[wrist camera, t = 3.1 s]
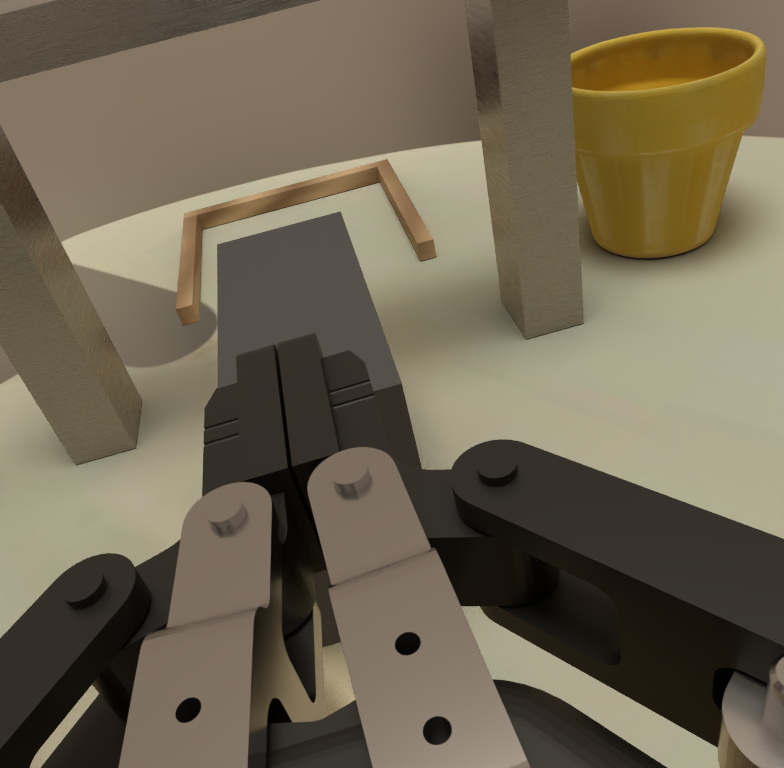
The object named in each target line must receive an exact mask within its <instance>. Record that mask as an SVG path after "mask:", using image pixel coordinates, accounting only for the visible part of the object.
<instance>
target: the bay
mask: <svg viewBox="0 0 784 768" xmlns="http://www.w3.org/2000/svg"><path fill="white" fill-rule="evenodd" d="M378 182H381V184H382V186H383V188H384V190H385V192H386V194H387V196H388V198H389V200H390V202H391V204H392V206H393V208H394V210H395V212H396V214H397V216H398V218H399V220H400V222H401V224H402V226H403V227H404V229H405V231H406V233H407V235H408V237H409V239H410V241H411V243H412V245H413V247H414V249H415V251H416V253H417V255H418V257H419V259H420V261H423V260H427V259H430V258H434V257H436V252H435V247H434V241H433V238H432V236H431V235H430V233H429V231H428V229H427V228H426V226H425V224H424V223H423V221H422V219H421V217H420V216H419V214H418V212H417V210H416V209H415V207H414V205H413V203H412V202H411V200H410V198H409V196H408V195H407V193H406V191H405V189H404V188H403V186H402V184H401V182H400V181H399V179H398V177H397V175H396V174H395V172H394V170H393V168H392V167H391V165H390V163H389V161H388V160H387V159H386V160H382V161H378V162H375V163H371V164H367V165H363V166H360V167H356V168H352V169H348V170H345V171H341V172H337V173H334V174H330V175H326V176H322V177H319V178H315V179H311V180H307V181H304V182H300V183H296V184H292V185H289V186H285V187H281V188H277V189H274V190H270V191H266V192H262V193H259V194H255V195H251V196H247V197H244V198H240V199H236V200H232V201H229V202H225V203H221V204H217V205H214V206H210V207H206V208H202V209H199V210H195V211H191V212H187V213H184V222H183V233H182V244H181V256H180V267H179V279H178V290H177V301H176V311H177V313H178V316H179V318H180V320H181V322H182V325H183V326H184V325H188V324H192V323H196V322H199V309H200V281H201V253H202V229H206V228H210V227H213V226H217V225H221V224H225V223H228V222H232V221H236V220H239V219H243V218H247V217H251V216H254V215H258V214H262V213H266V212H269V211H273V210H277V209H281V208H284V207H288V206H292V205H295V204H299V203H303V202H307V201H310V200H314V199H318V198H322V197H325V196H329V195H333V194H336V193H340V192H344V191H348V190H351V189H355V188H359V187H363V186H366V185H370V184H374V183H378Z"/></svg>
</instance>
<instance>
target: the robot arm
mask: <svg viewBox="0 0 784 768" xmlns="http://www.w3.org/2000/svg"><path fill="white" fill-rule="evenodd" d="M277 347H278V349H277ZM277 347H276V345H275V344H273V345H270V346H267V347H263V348H260V349H256V350H253V351H249V352H246V353H242V354H239V355H237V356H236V370H237V383H234V384H231V385H227V386H224V387H221V388H217V389H216V390H215V392H214V393H213V395H212V397H211V399H210V400H209V402H208V404H207V406H206V407H205V417H204V428H205V431H204V445H205V447H204V453H203V489H202V498H201V499H200V500H198V501H197V502H196V503H195V504H194V505H193V507H192V508H191V509H190V510H189V512H188V513H187V515H186V517H185V520H184V523H183V527H182V534H181V539H180V540H179V541H178V542H176V543H175V544H174V545H173V546H171V547H170V548H168V549H166V550H165V551H163V552H161V553H159V554H158V555H156V556H154V557H152V558H151V559H149V560H147V561H145V562H143V563H142V564H140V565H138V566H136V567H134V565H133V564H132V562H131V561H130V560H129V559H128V558H127V557H125V556H122V555H119V554H112V553H107V554H100V555H96V556H92V557H90V558H87V559H85V560H83V561H81V562H79V563H77V564H75V565H74V566H72V567H70V568H69V569H68V570H66V571H65V572H64V573H63V574H61V575H60V576H59V577H58V578H57V579H56V580H55V581H54V582H53V583H52V584H51V585H50V587H49V588H48V589H47V590H46V591H45V592H44V593H43V594H42V595H41V596H40V597H39V598H38V599H37V600H36V601H35V602H34V603H33V605H32V606H31V607H30V608H29V609H28V610H27V611H26V612H25V613H24V614H23V615H22V616H21V617H20V618H19V619H18V620H17V621H16V622H15V624H14V625H13V626H12V627H11V628H10V629H9V630H8V631H7V632H6V633H5V634H4V635H3V636H2V637H1V638H0V768H29V767H30V764H31V762H32V760H33V758H34V756H35V755H36V753H37V752H38V750H39V749H40V748H41V746H42V745H43V744H44V743H45V741H46V740H47V739H48V738H49V737H50V735H51V734H52V733H53V732H54V730H55V729H56V728H57V727H58V725H59V724H60V723H61V722H62V720H63V719H64V718H65V717H66V716H67V714H68V713H69V712H70V711H71V709H72V708H73V707H74V706H75V704H76V703H77V702H78V701H79V699H80V698H81V697H82V696H83V695H84V693H85V692H86V691H87V690H88V688H89V687H90V686H91V685H93V686H94V687H95V689H96V690H97V691H98V692H99V695H98V696H97V697H96V699H95V700H94V701H93V703H92V704H91V705H90V706H89V708H88V709H87V710H86V711H85V713H84V714H83V715H82V716H81V718H80V719H79V720H78V721H77V723H76V724H75V725H74V726H73V728H72V729H71V730H70V731H69V733H68V734H67V735H66V737H65V738H64V739H63V740H62V742H61V743H60V744H59V745H58V747H57V748H56V749H55V750H54V752H53V753H52V754H51V755H50V757H49V758H48V759H47V760H46V762H45V763H44V764H43V765H42V767H41V768H667V767H665V766H664V765H662V764H661V763H659V762H658V761H656V760H655V759H653V758H651V757H650V756H648V755H647V754H645V753H644V752H642V751H641V750H639V749H638V748H636V747H634V746H633V745H631V744H630V743H628V742H627V741H625V740H624V739H622V738H621V737H619V736H617V735H616V734H614V733H613V732H611V731H610V730H608V729H607V728H605V727H604V726H602V725H601V724H599V723H597V722H596V721H594V720H593V719H591V718H590V717H588V716H587V715H585V714H584V713H582V712H580V711H579V710H577V709H576V708H574V707H573V706H571V705H570V704H568V703H566V702H565V701H563V700H561V699H560V698H557V697H555V696H553V695H551V694H549V693H547V692H545V691H543V690H540V689H537V688H534V687H531V686H528V685H525V684H520V683H515V682H510V681H505V680H492V677H491V675H490V673H489V670H488V668H487V666H486V663H485V661H484V659H483V656H482V654H481V652H480V650H479V647H478V645H477V643H476V640H475V638H474V636H473V633H472V631H471V629H470V626H469V624H468V622H467V619H466V617H465V615H464V612H463V610H462V608H461V606H480V608H481V609H482V611H483V612H484V614H485V615H486V616H487V617H488V618H489V619H491V620H492V621H494V622H495V623H497V624H499V625H501V626H502V627H504V628H506V629H508V630H509V631H511V632H513V633H515V634H517V635H518V636H520V637H522V638H524V639H525V640H527V641H529V642H531V643H533V644H534V645H536V646H538V647H540V648H541V649H543V650H545V651H547V652H549V653H550V654H552V655H554V656H556V657H558V658H559V659H561V660H563V661H565V662H566V663H568V664H570V665H572V666H574V667H575V668H577V669H579V670H581V671H582V672H584V673H586V674H588V675H590V676H591V677H593V678H595V679H597V680H598V681H600V682H602V683H604V684H606V685H607V686H609V687H611V688H613V689H614V690H616V691H618V692H620V693H622V694H623V695H625V696H627V697H629V698H630V699H632V700H634V701H636V702H638V703H639V704H641V705H643V706H645V707H646V708H648V709H650V710H652V711H654V712H655V713H657V714H659V715H661V716H663V717H664V718H666V719H668V720H670V721H671V722H673V723H675V724H677V725H679V726H680V727H682V728H684V729H686V730H687V731H689V732H691V733H693V734H695V735H696V736H698V737H700V738H702V739H703V740H705V741H707V742H709V743H711V744H712V745H714V746H716V747H718V761H719V766H720V768H784V539H782V538H780V537H777V536H774V535H771V534H769V533H766V532H763V531H761V530H758V529H755V528H752V527H750V526H747V525H744V524H742V523H739V522H736V521H734V520H731V519H728V518H725V517H723V516H720V515H717V514H715V513H712V512H709V511H707V510H704V509H701V508H698V507H696V506H693V505H690V504H688V503H685V502H682V501H680V500H677V499H674V498H671V497H669V496H666V495H663V494H661V493H658V492H655V491H653V490H650V489H647V488H644V487H642V486H639V485H636V484H634V483H631V482H628V481H625V480H623V479H620V478H617V477H615V476H612V475H609V474H607V473H604V472H601V471H598V470H596V469H593V468H590V467H588V466H585V465H582V464H580V463H577V462H574V461H571V460H569V459H566V458H563V457H561V456H558V455H555V454H553V453H550V452H547V451H544V450H542V449H539V448H536V447H534V446H531V445H528V444H525V443H522V442H519V441H514V440H492V441H487V442H484V443H481V444H478V445H476V446H474V447H471V448H470V449H468V450H467V451H465V452H464V453H463V454H462V455H461V456H459V458H458V459H457V460H456V461H455V463H454V465H453V467H452V469H451V470H424V469H418V468H414V467H411V466H409V465H406V464H405V463H403V462H401V461H400V460H399V459H398V458H397V457H396V456H395V455H394V454H393V452H392V450H391V448H390V445H389V442H388V439H387V435H386V432H385V428H384V425H383V422H382V418H381V415H380V412H379V408H378V405H377V402H376V398H375V395H374V392H373V388H372V385H371V382H370V378H369V375H368V371H367V368H366V365H365V362H364V361H363V360H361V359H360V358H359V357H358V356H356V355H355V354H354V353H352V352H351V351H350V350H348V351H344V352H341V353H337V354H334V355H331V356H327V357H323V354H322V350H321V347H320V344H319V341H318V339H317V336H316V333H311V334H308V335H304V336H301V337H297V338H294V339H290V340H287V341H283V342H280V343H278V344H277ZM324 570H328V573H329V577H330V581H331V585H329V586H328V589H329V595H330V599H331V603H332V607H333V611H334V615H335V619H336V623H337V627H338V631H339V635H340V639H341V643H342V647H343V651H344V655H345V659H346V663H347V667H348V671H349V675H350V679H351V683H352V687H353V691H354V695H355V699H356V700H355V701H353V702H351V703H350V704H348V705H346V706H345V707H343V708H341V709H339V710H338V711H336V712H334V713H333V714H331V715H329V716H327V717H326V713H325V694H324V672H323V650H322V628H321V613H320V609H319V606H318V604H317V601H316V599H315V598H316V591H315V584H314V576H313V574H314V573H317V572H321V571H324Z"/></svg>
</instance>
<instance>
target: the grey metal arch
mask: <svg viewBox="0 0 784 768" xmlns="http://www.w3.org/2000/svg"><path fill="white" fill-rule="evenodd" d="M315 1H318V0H10V1H6V2H2V3H0V82H4V81H7V80H12V79H16V78H19V77H23V76H27V75H31V74H35V73H39V72H43V71H47V70H51V69H54V68H58V67H62V66H66V65H70V64H74V63H78V62H82V61H85V60H89V59H93V58H97V57H101V56H105V55H109V54H113V53H117V52H121V51H124V50H128V49H132V48H136V47H140V46H144V45H147V44H152V43H155V42H159V41H163V40H167V39H171V38H175V37H179V36H183V35H186V34H190V33H194V32H198V31H202V30H206V29H210V28H214V27H217V26H222V25H225V24H229V23H233V22H237V21H241V20H245V19H249V18H253V17H257V16H261V15H264V14H268V13H272V12H276V11H280V10H284V9H288V8H291V7H296V6H299V5H303V4H307V3H311V2H315ZM464 4H465V11H466V20H467V27H468V36H469V44H470V52H471V60H472V68H473V76H474V84H475V92H476V100H477V108H478V116H479V124H480V132H481V140H482V148H483V156H484V164H485V172H486V180H487V188H488V196H489V204H490V212H491V220H492V228H493V236H494V244H495V252H496V260H497V268H498V276H499V284H500V292H501V300H502V302H503V304H504V305H505V307H506V309H507V310H508V312H509V313H510V315H511V316H512V318H513V319H514V321H515V322H516V324H517V326H518V327H519V329H520V330H521V332H522V333H523V335H524V336H525V338H526V339H529V338H532V337H536V336H539V335H543V334H546V333H550V332H554V331H557V330H561V329H564V328H568V327H572V326H575V325H579V324H582V323H583V302H582V282H581V261H580V240H579V219H578V198H577V177H576V157H575V136H574V115H573V94H572V73H571V53H570V33H569V11H568V0H464ZM0 345H1V347H2V348H3V350H4V351H5V353H6V355H7V356H8V358H9V359H10V361H11V362H12V364H13V366H14V367H15V369H16V371H17V372H18V374H19V375H20V377H21V379H22V380H23V382H24V383H25V385H26V387H27V388H28V390H29V391H30V393H31V395H32V396H33V398H34V399H35V401H36V403H37V404H38V406H39V407H40V409H41V411H42V412H43V414H44V415H45V417H46V419H47V420H48V422H49V423H50V425H51V427H52V428H53V430H54V431H55V433H56V435H57V436H58V438H59V439H60V441H61V442H62V444H63V446H64V447H65V449H66V450H67V452H68V454H69V455H70V457H71V458H72V460H73V462H74V463H75V465H77V464H80V463H84V462H87V461H91V460H95V459H98V458H102V457H105V456H109V455H113V454H116V453H120V452H123V451H127V450H130V449H134V448H136V441H137V434H138V426H139V419H140V412H141V404H142V399H141V397H140V395H139V393H138V392H137V390H136V388H135V386H134V384H133V382H132V380H131V378H130V376H129V374H128V372H127V370H126V368H125V366H124V364H123V363H122V360H121V358H120V357H119V355H118V353H117V351H116V349H115V347H114V345H113V343H112V341H111V339H110V337H109V335H108V333H107V331H106V329H105V327H104V326H103V323H102V322H101V320H100V318H99V316H98V314H97V312H96V310H95V308H94V306H93V304H92V302H91V300H90V298H89V296H88V295H87V292H86V290H85V289H84V287H83V285H82V283H81V281H80V279H79V277H78V275H77V273H76V271H75V269H74V267H73V265H72V263H71V261H70V259H69V257H68V255H67V253H66V252H65V250H64V248H63V246H62V244H61V242H60V240H59V238H58V236H57V234H56V232H55V230H54V228H53V226H52V224H51V222H50V220H49V219H48V217H47V215H46V213H45V211H44V209H43V207H42V205H41V203H40V201H39V199H38V197H37V195H36V193H35V191H34V189H33V188H32V185H31V183H30V182H29V180H28V178H27V176H26V174H25V172H24V170H23V168H22V166H21V164H20V162H19V160H18V158H17V156H16V154H15V152H14V150H13V149H12V147H11V145H10V143H9V141H8V139H7V137H6V135H5V133H4V131H3V129H2V127H1V125H0Z"/></svg>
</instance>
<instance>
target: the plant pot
mask: <svg viewBox="0 0 784 768" xmlns="http://www.w3.org/2000/svg"><path fill="white" fill-rule="evenodd" d="M765 64H766V48H765V45H764V43H763V41H762V40H761V39H760V38H758V37H757V36H755V35H753V34H750V33H748V32H744V31H739V30H734V29H726V28H707V27H706V28H705V27H701V28H678V29H666V30H658V31H651V32H644V33H638V34H634V35H629V36H624V37H620V38H615V39H611V40H608V41H604V42H601V43H598V44H594V45H592V46H589V47H586V48H584V49H581V50H579V51H576V52H574V53H572V54H571V73H572V94H573V115H574V136H575V157H576V177H577V182H578V186H579V189H580V192H581V196H582V199H583V202H584V206H585V209H586V213H587V217H588V220H589V224H590V227H591V231H592V234H593V237H594V239H595V240H596V242H597V243H598V244H599V245H600V246H601V247H602V248H604V249H605V250H607V251H609V252H612V253H615V254H618V255H622V256H626V257H635V258H659V257H667V256H672V255H677V254H681V253H684V252H687V251H690V250H692V249H695V248H697V247H698V246H700V245H702V244H703V243H705V242H706V241H707V240H708V239H709V238H710V237H711V235H712V234H713V232H714V229H715V226H716V222H717V219H718V215H719V212H720V208H721V205H722V201H723V198H724V194H725V191H726V187H727V184H728V181H729V177H730V174H731V171H732V167H733V164H734V161H735V157H736V154H737V151H738V147H739V144H740V141H741V138H742V134H743V132H744V131H745V130H746V129H748V128H749V127H750V126H751V125H752V124H753V123H754V122H755V120H756V118H757V117H758V115H759V112H760V107H761V101H762V94H763V87H764V77H765V66H766V65H765Z"/></svg>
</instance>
